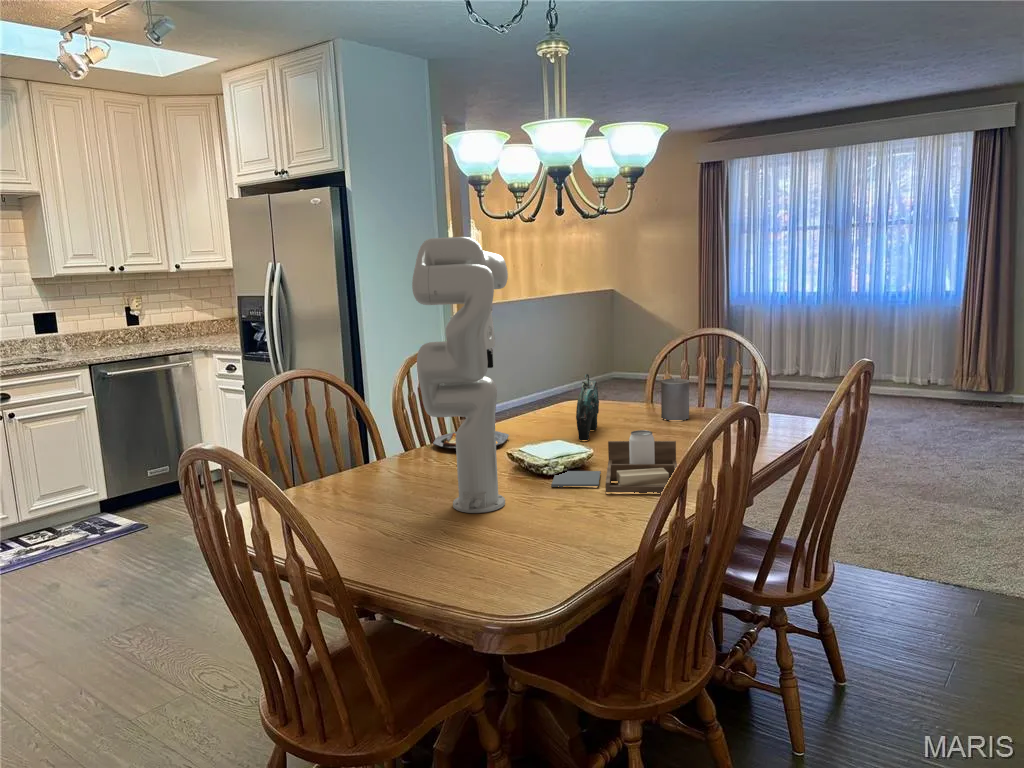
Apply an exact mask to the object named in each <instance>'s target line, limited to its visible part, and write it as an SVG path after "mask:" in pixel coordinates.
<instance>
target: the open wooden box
mask: <svg viewBox="0 0 1024 768" xmlns="http://www.w3.org/2000/svg"><path fill="white" fill-rule="evenodd" d="M607 445H608V446H607V449H608V452H607V453H608V460H607V461H608V462H607V467H606V469H607V470H606V475H605V476H606V477H605V493H606V492H634V493H635V492H639V493H647V492H653V493H654V492H657V493H660V494H661V492H662V491H663V489H664V487H665V486H621V485H618V484H611V481H617V471H620V470H636V469H651V468H664V469H665V470H666V471H667V472H668V473H669V478H670V477H671V475H672V473H673V472H674V470H675V468H676V467H677V468H678V463H677V442H676V440H654V449H655V464H630V451H629V440H608V442H607Z"/></svg>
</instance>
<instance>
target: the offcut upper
mask: <svg viewBox="0 0 1024 768" xmlns="http://www.w3.org/2000/svg"><path fill="white" fill-rule="evenodd" d="M668 480H669V473H668V472H667V471H666V470H665V469H664V468H651V469H636V470H620V471H617V481H618V483H619V484H620V485H621V486H631V485H646V484H661V483H667V482H668Z"/></svg>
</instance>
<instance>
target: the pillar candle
mask: <svg viewBox="0 0 1024 768" xmlns="http://www.w3.org/2000/svg"><path fill="white" fill-rule="evenodd" d="M660 386H661V387H660V388H661V389H660V391H661V393H660V397H661V398H660V399H661V400H660V403H661V404H660V405H661V406H660V409H661V410H660V411H661V414H660V415H661V416H660V417H661V418H663V419H666V420H686V419H688V420H690V380H689V379H684V378H679V377H678V378H676V377H673V378H666V379H662V380H661V381H660ZM686 421H687V420H686Z"/></svg>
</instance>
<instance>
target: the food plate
mask: <svg viewBox="0 0 1024 768" xmlns="http://www.w3.org/2000/svg"><path fill="white" fill-rule="evenodd" d="M456 433H457V431H455V432H454V431H453V432H449V433H446V434H443V435H438V436H437V437H436V438H435V439H434V441H433V442H432V445H434V446H436V447H438V448H445V449H456ZM495 437H496V441H497V442H498V443H497V444H496V447H497V446H499V445H502V444H504V443H505V442H506V441H507V440H508V439H509V437H510V435H509V434H508V433H505V432H501V431H497V430H495Z"/></svg>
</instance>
